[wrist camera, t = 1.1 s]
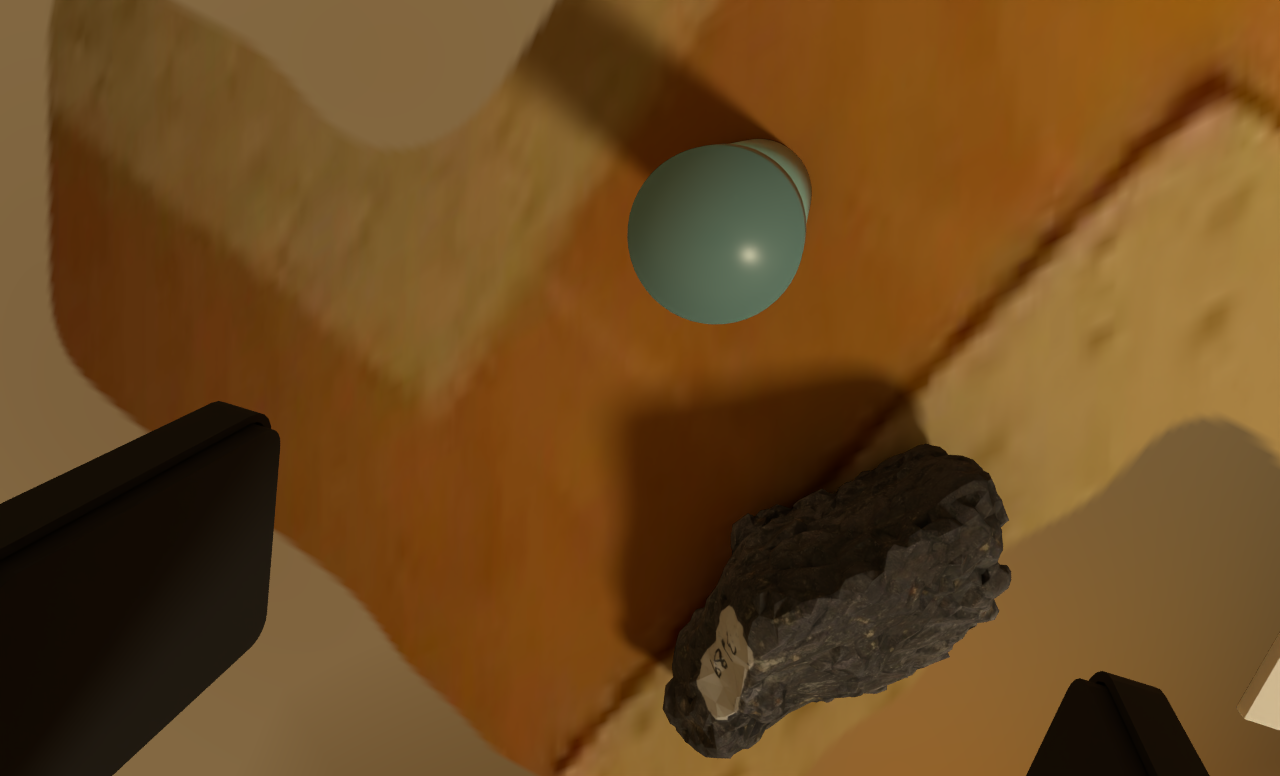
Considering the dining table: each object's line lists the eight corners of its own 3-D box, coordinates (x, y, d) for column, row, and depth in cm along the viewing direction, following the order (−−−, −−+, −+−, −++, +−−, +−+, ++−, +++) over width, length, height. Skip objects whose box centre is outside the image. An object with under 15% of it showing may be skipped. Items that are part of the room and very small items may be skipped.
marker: (718, 124, 27) (651, 125, 17) (827, 153, 27) (827, 172, 16) (689, 233, 28) (609, 297, 18) (794, 263, 28) (774, 344, 18)
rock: (881, 399, 23) (906, 818, 20) (1049, 445, 28) (1087, 785, 25) (612, 462, 32) (605, 756, 29) (775, 488, 37) (781, 742, 34)
